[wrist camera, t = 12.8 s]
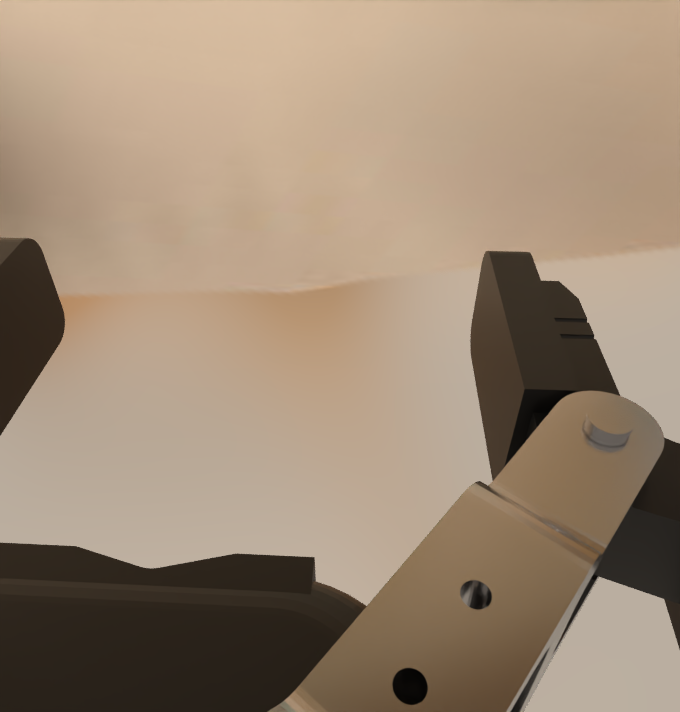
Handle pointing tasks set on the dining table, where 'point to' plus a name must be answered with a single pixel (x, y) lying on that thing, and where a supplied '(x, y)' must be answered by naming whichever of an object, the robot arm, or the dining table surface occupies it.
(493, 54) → the dining table surface
